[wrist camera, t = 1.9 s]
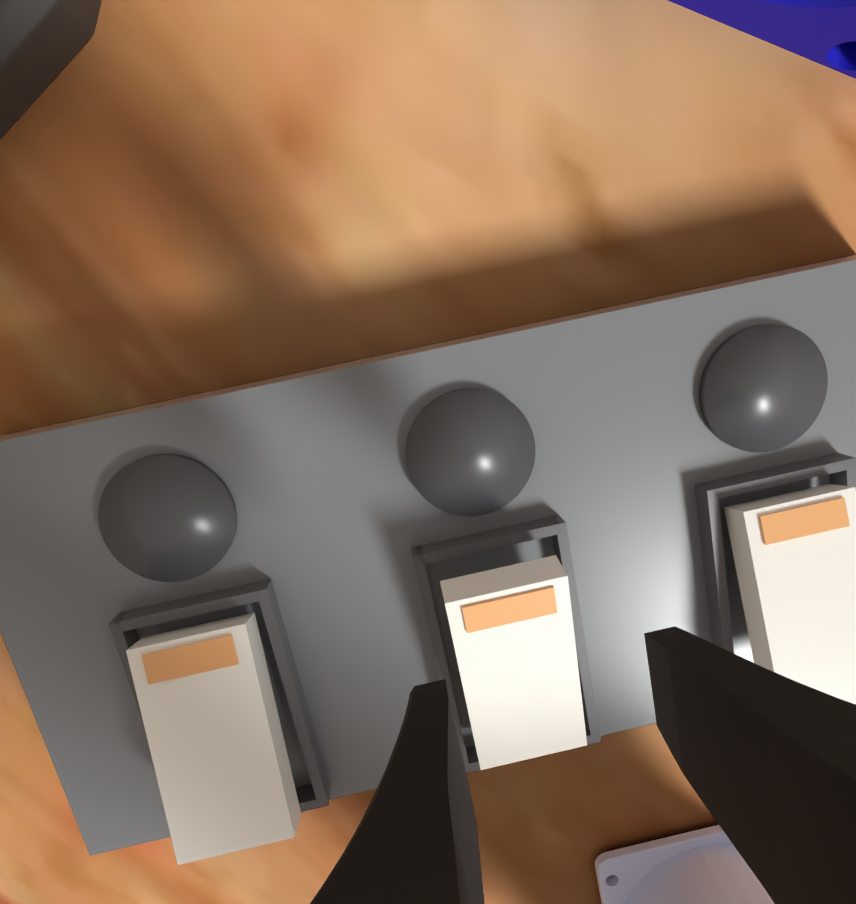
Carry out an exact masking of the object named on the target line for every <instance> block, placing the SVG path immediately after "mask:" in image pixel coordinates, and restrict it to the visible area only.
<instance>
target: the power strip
mask: <svg viewBox="0 0 856 904" xmlns="http://www.w3.org/2000/svg"><path fill="white" fill-rule="evenodd" d="M826 484H835V485H843V486H851V487H855V489H856V255H852V256H847V257H842V258H838V259H833V260H828V261H823V262H819V263H814V264H809V265H805V266H800V267H795V268H790V269H786V270H781V271H776V272H771V273H767V274H762V275H757V276H753V277H748V278H743V279H738V280H734V281H729V282H724V283H720V284H715V285H710V286H705V287H701V288H696V289H691V290H686V291H682V292H677V293H672V294H668V295H663V296H658V297H653V298H649V299H644V300H639V301H634V302H630V303H625V304H620V305H616V306H611V307H606V308H601V309H597V310H592V311H587V312H583V313H578V314H573V315H568V316H564V317H559V318H554V319H549V320H545V321H540V322H535V323H531V324H526V325H521V326H516V327H512V328H507V329H502V330H498V331H493V332H488V333H483V334H479V335H474V336H469V337H464V338H460V339H455V340H450V341H446V342H441V343H436V344H431V345H427V346H422V347H417V348H412V349H408V350H403V351H398V352H394V353H389V354H384V355H379V356H375V357H370V358H365V359H361V360H356V361H351V362H346V363H342V364H337V365H332V366H327V367H323V368H318V369H313V370H309V371H304V372H299V373H294V374H290V375H285V376H280V377H275V378H271V379H266V380H261V381H257V382H252V383H247V384H242V385H238V386H233V387H228V388H224V389H219V390H214V391H209V392H205V393H200V394H195V395H190V396H186V397H181V398H176V399H172V400H167V401H162V402H157V403H153V404H148V405H143V406H139V407H134V408H129V409H124V410H120V411H115V412H110V413H105V414H101V415H96V416H91V417H87V418H82V419H77V420H72V421H68V422H63V423H58V424H53V425H49V426H44V427H39V428H35V429H30V430H25V431H20V432H16V433H11V434H6V435H2V436H0V631H1V634H2V636H3V639H4V641H5V644H6V646H7V649H8V651H9V654H10V656H11V659H12V661H13V664H14V666H15V669H16V671H17V674H18V677H19V679H20V682H21V684H22V687H23V689H24V692H25V694H26V697H27V699H28V702H29V704H30V707H31V709H32V712H33V714H34V717H35V719H36V722H37V724H38V727H39V729H40V732H41V734H42V737H43V739H44V742H45V744H46V747H47V749H48V752H49V754H50V757H51V759H52V762H53V764H54V767H55V769H56V772H57V774H58V777H59V779H60V782H61V784H62V787H63V789H64V792H65V794H66V797H67V799H68V802H69V804H70V807H71V809H72V812H73V814H74V817H75V819H76V822H77V824H78V827H79V829H80V832H81V835H82V837H83V840H84V842H85V845H86V847H87V850H88V852H89V855H90V856H91V855H95V854H99V853H103V852H108V851H112V850H116V849H121V848H125V847H129V846H133V845H138V844H142V843H146V842H150V841H155V840H159V839H163V838H168V837H171V835H170V830H169V826H168V822H167V818H166V814H165V810H164V806H163V802H162V797H161V793H160V789H159V785H158V781H157V777H156V773H155V768H154V764H153V760H152V756H151V752H150V748H149V744H148V740H147V735H146V731H145V727H144V723H143V719H142V715H141V711H140V706H139V702H138V698H137V694H136V690H135V686H134V682H133V678H132V673H131V669H130V665H129V661H128V657H127V653H126V650H127V649H128V648H130V647H131V646H132V645H134V644H135V643H136V642H137V641H139V640H140V639H141V638H142V637H147V636H151V635H156V634H160V633H165V632H169V631H174V630H178V629H183V628H187V627H191V626H196V625H200V624H205V623H209V622H214V621H218V620H223V619H227V618H232V617H236V616H241V615H245V614H250V613H254V612H255V616H256V621H257V625H258V629H259V634H260V638H261V642H262V646H263V651H264V655H265V659H266V664H267V668H268V672H269V677H270V681H271V685H272V690H273V694H274V698H275V703H276V707H277V711H278V716H279V720H280V724H281V728H282V733H283V737H284V741H285V746H286V750H287V754H288V759H289V763H290V767H291V772H292V776H293V780H294V785H295V789H296V793H297V798H298V802H299V806H300V811H301V812H303V811H307V810H311V809H316V808H320V807H324V806H328V805H329V800H330V799H334V798H338V797H343V796H347V795H351V794H355V793H360V792H364V791H368V790H372V789H377V787H378V785H379V783H380V781H381V779H382V776H383V774H384V772H385V770H386V767H387V765H388V762H389V759H390V757H391V754H392V751H393V749H394V746H395V743H396V741H397V738H398V735H399V732H400V729H401V726H402V723H403V720H404V716H405V713H406V709H407V705H408V700H409V695H410V692H411V690H412V689H413V687H414V686H417V685H421V684H426V683H430V682H434V681H439V680H443V679H446V683H447V688H448V692H449V697H450V701H451V706H452V710H453V715H454V719H455V724H456V728H457V733H458V737H459V742H460V746H461V751H462V755H463V760H464V764H465V769H466V773H469V772H473V771H478V770H481V769H480V765H479V760H478V756H477V751H476V747H475V742H474V738H473V733H472V728H471V724H470V719H469V714H468V710H467V705H466V700H465V696H464V691H463V686H462V682H461V677H460V672H459V668H458V663H457V659H456V654H455V649H454V645H453V640H452V635H451V631H450V626H449V621H448V617H447V612H446V607H445V603H444V598H443V594H442V589H441V584H440V581H442V580H447V579H451V578H456V577H460V576H465V575H469V574H474V573H478V572H483V571H487V570H492V569H496V568H500V567H505V566H509V565H514V564H518V563H523V562H527V561H532V560H536V559H541V558H545V557H549V556H554V555H556V556H557V558H558V560H559V562H560V563H561V565H562V567H563V569H564V570H565V572H566V574H567V575H568V583H569V591H570V600H571V609H572V617H573V626H574V634H575V643H576V652H577V660H578V669H579V678H580V686H581V695H582V704H583V712H584V721H585V730H586V738H587V745H589V744H593V743H597V742H601V736H603V735H607V734H612V733H616V732H620V731H624V730H629V729H633V728H637V727H641V726H646V725H650V724H654V723H656V716H655V709H654V702H653V695H652V687H651V680H650V673H649V666H648V658H647V651H646V644H645V637H644V633H648V632H652V631H657V630H661V629H665V628H670V627H674V626H675V627H678V628H680V629H682V630H685V631H687V632H689V633H691V634H694V635H696V636H698V637H700V638H702V639H704V640H706V641H708V642H711V643H713V644H715V645H717V646H719V647H721V648H723V649H725V650H727V651H729V652H732V653H734V654H736V655H738V656H740V657H742V658H744V659H746V660H749V661H751V662H753V663H754V660H753V655H752V649H751V644H750V639H749V634H748V629H747V624H746V619H745V613H744V608H743V603H742V598H741V593H740V588H739V583H738V577H737V572H736V567H735V562H734V557H733V552H732V547H731V542H730V536H729V531H728V526H727V521H726V516H725V511H724V507H728V506H732V505H737V504H741V503H746V502H750V501H755V500H759V499H764V498H768V497H773V496H777V495H782V494H786V493H791V492H795V491H800V490H804V489H809V488H813V487H817V486H822V485H826Z"/></svg>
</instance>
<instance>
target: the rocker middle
mask: <svg viewBox="0 0 856 904" xmlns="http://www.w3.org/2000/svg"><path fill="white" fill-rule="evenodd" d="M440 584H441V589H442V594H443V598H444V603H445V607H446V612H447V617H448V621H449V626H450V631H451V635H452V640H453V645H454V649H455V654H456V659H457V663H458V668H459V672H460V677H461V682H462V686H463V691H464V696H465V700H466V705H467V710H468V714H469V719H470V724H471V728H472V733H473V738H474V742H475V747H476V751H477V756H478V760H479V765H480V769H481V770H484V769H489V768H493V767H497V766H501V765H506V764H510V763H514V762H518V761H523V760H527V759H531V758H536V757H540V756H544V755H548V754H553V753H557V752H561V751H565V750H570V749H574V748H578V747H582V746H587V738H586V730H585V721H584V712H583V704H582V695H581V686H580V678H579V669H578V660H577V652H576V643H575V634H574V626H573V617H572V609H571V600H570V591H569V583H568V575H567V574H566V572H565V570H564V569H563V567H562V565H561V563H560V562H559V560H558V558H557V556H556V555H554V556H549V557H545V558H541V559H536V560H532V561H527V562H523V563H518V564H514V565H509V566H505V567H500V568H496V569H492V570H487V571H483V572H478V573H474V574H469V575H465V576H460V577H456V578H451V579H447V580H442V581H440Z"/></svg>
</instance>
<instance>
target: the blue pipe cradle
mask: <svg viewBox="0 0 856 904" xmlns="http://www.w3.org/2000/svg"><path fill="white" fill-rule="evenodd" d="M668 1H671V2H673V3H676V4H678V5H680V6H683V7H685V8H688V9H690V10H692V11H695V12H697V13H700V14H702V15H704V16H707V17H709V18H712V19H714V20H716V21H719V22H721V23H724V24H726V25H728V26H731V27H733V28H736V29H738V30H740V31H743V32H745V33H748V34H750V35H752V36H755V37H757V38H759V39H762V40H764V41H767V42H769V43H771V44H774V45H776V46H779V47H781V48H783V49H786V50H788V51H791V52H793V53H795V54H798V55H800V56H803V57H805V58H807V59H810V60H812V61H815V62H817V63H819V64H822V65H824V66H827V67H829V68H831V69H834V70H836V71H839V72H841V73H843V74H846V75H848V76H851V77H853V78H855V79H856V0H668Z"/></svg>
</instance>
